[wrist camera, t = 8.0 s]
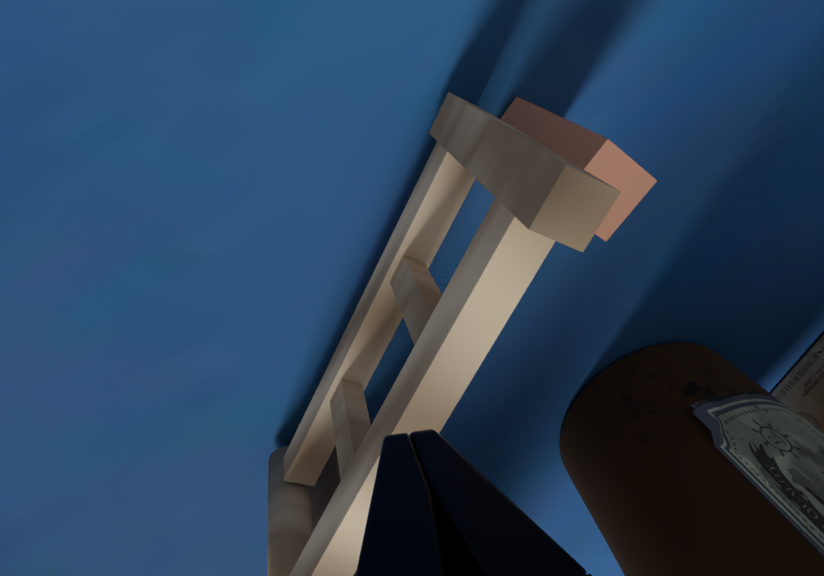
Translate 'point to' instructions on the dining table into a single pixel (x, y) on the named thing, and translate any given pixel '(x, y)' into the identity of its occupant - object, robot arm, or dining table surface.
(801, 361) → the coffee box
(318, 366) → the dining table surface
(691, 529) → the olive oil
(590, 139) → the post
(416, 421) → the gate
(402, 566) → the robot arm
